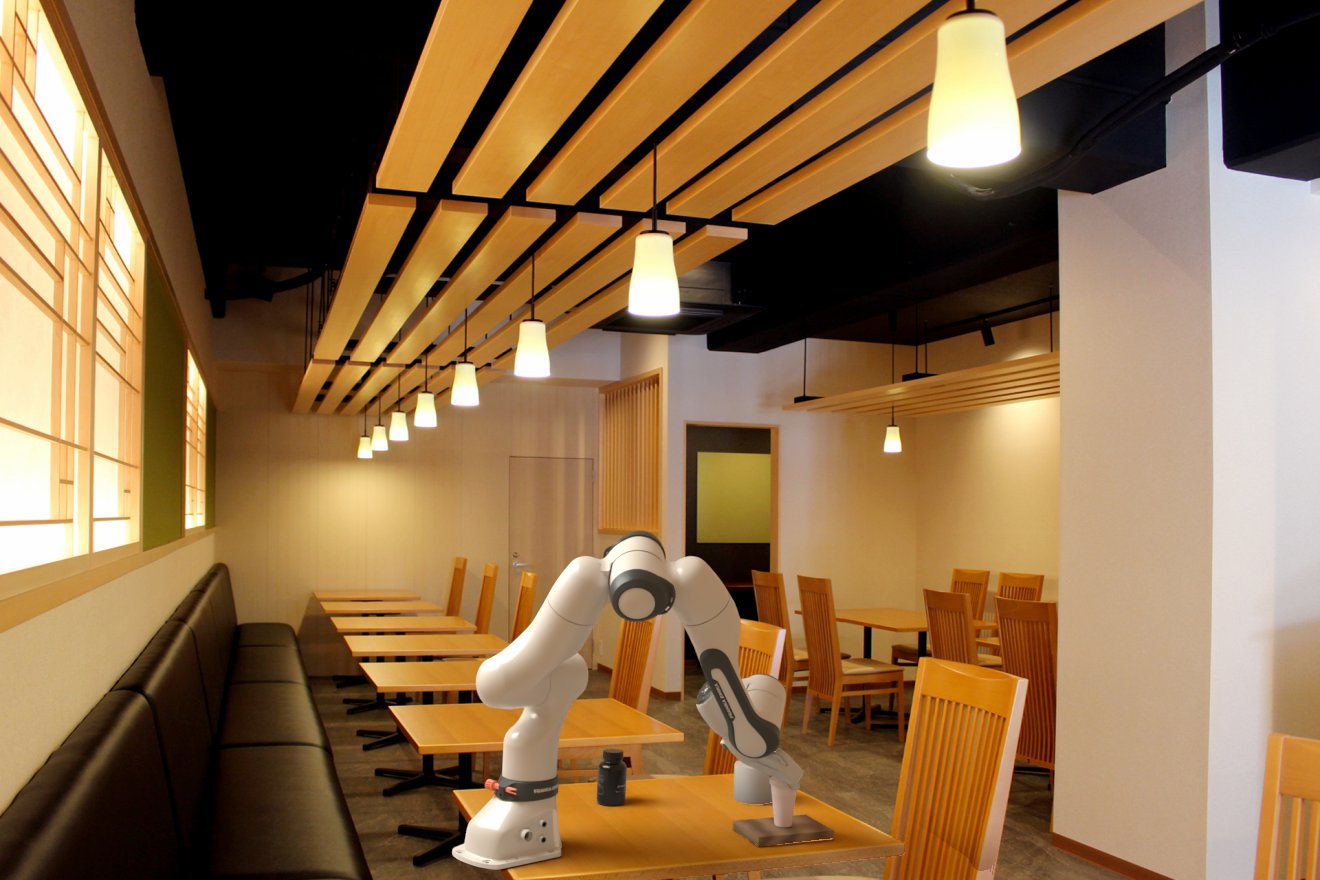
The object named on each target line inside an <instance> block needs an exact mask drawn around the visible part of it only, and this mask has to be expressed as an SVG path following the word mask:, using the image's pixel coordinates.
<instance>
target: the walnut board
mask: <svg viewBox="0 0 1320 880" xmlns="http://www.w3.org/2000/svg"><path fill="white" fill-rule="evenodd" d="M732 831H733V832H735V833H737V835H739V834H740V835H739V836H741V835H742V836H743V838H744V837H745V838H747V839H748V840H749V842H750V841H751V842H753V843H754V844H756V845H757V846H758V847H757V846H756V845H755V846H756V847H757V848H760V847H759V846H766V847H769V846H768V845H776V846H778V845H777V844H785V843H793V842H802V841H811V840H819V839H830V838H834V839H835V830H834V829H833V828H831V827H829V826H827V825H826V824H823V823H822V822H821V821H818V820H816V819H815V818H813V817H811V816H809V815H807V814H796V815H795V814H794V815H793V820H792V826H791V827H778V826H776V825H774V816H773V817H763V818H762V817H761V818H749V819H748V818H747V819H737V820H733V822H732ZM742 836H741V837H742ZM745 838H744V839H745ZM747 839H746V840H747ZM748 840H747V841H748ZM751 842H750V843H751ZM753 843H752V844H753ZM754 844H753V845H754Z"/></svg>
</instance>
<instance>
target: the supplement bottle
mask: <svg viewBox="0 0 1320 880" xmlns="http://www.w3.org/2000/svg"><path fill="white" fill-rule="evenodd" d="M601 756H602V757H601V758H602V761H599V764H598V765H597V784H596V802H597V804H599V805H601V806H605V807H618V806H619V807H620V806H622V805H624V804H625V803H626V795H627V775H628V774H627V773H628V771H627V770H628V767H627V764H626V763H625V762H624V761H623V760H624V751H623V750H622V749H619V748H606V749H603V751H602V755H601Z"/></svg>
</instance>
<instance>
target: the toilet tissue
mask: <svg viewBox="0 0 1320 880" xmlns="http://www.w3.org/2000/svg"><path fill="white" fill-rule="evenodd" d="M733 765H734V766H733V767H734V768H733V794H732V795H733V799H734V800H736V801H738V802H742V803H747V804H765V803H770V802H772V792H771V784H770V783H769V782H770V779H769V777H768V776H766V775H765V774H764V773H763V772H761V771H759V770H757V769H754V768H752V767H750V766H747V765H745V764H744V763H742V762H741V761H739V760H738V759H737V760H736V761H735V763H734V764H733ZM734 800H733V801H734ZM736 801H735V802H736Z"/></svg>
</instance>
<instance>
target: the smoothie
mask: <svg viewBox="0 0 1320 880" xmlns="http://www.w3.org/2000/svg"><path fill="white" fill-rule="evenodd" d="M798 782H799V783H800V780H799V781H798ZM769 783H770V784H771V792H772V803H771V804H772V810H773V811H772V813H773V817H774V825H776V826H778V827H791V826H792V820H793V816H794V812H795V807H796V806H795V804H796V797H797V792H798V790H797V791H794V790H792V789H791V788H790V787H789V786H788V783H786V782H784V781H782V780H780V779H777V778H775V777H773V776H772V777H770V782H769Z"/></svg>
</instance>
